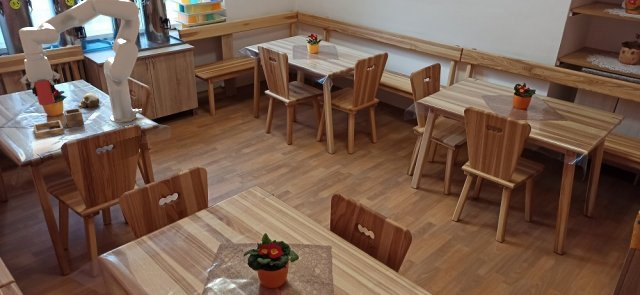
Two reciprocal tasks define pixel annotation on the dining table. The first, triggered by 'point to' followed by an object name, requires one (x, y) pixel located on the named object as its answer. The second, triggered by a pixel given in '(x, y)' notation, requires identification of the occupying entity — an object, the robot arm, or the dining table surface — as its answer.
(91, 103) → the skull
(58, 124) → the tray
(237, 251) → the dining table surface
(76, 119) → the brown square pot
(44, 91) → the beer can
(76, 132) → the coaster
